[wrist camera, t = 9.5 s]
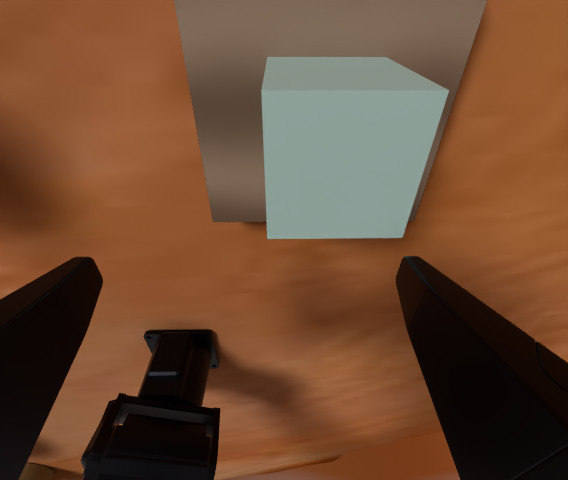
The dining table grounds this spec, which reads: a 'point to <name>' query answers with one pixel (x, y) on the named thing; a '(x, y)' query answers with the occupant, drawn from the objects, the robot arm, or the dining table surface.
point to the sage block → (344, 145)
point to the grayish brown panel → (302, 43)
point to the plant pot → (36, 472)
